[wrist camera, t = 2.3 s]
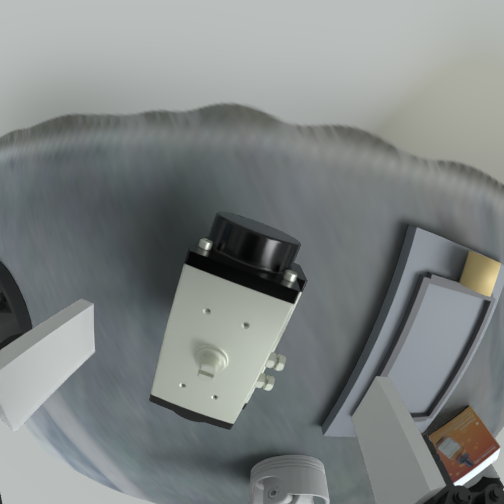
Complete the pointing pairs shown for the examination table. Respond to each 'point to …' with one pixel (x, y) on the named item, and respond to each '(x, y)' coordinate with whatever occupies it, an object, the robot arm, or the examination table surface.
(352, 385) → the mounting plate
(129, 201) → the examination table surface
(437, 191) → the examination table surface
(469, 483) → the glass holder
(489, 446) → the small box
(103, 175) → the examination table surface
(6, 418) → the robot arm
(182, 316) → the pneumatic valve
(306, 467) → the engine component
